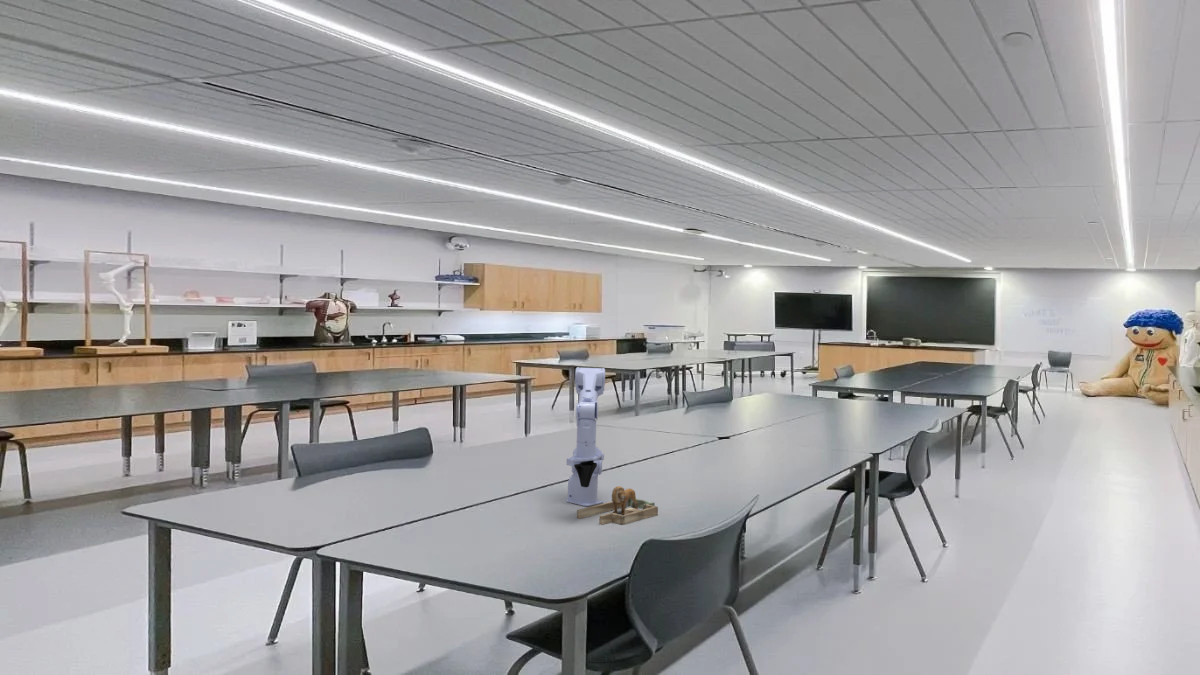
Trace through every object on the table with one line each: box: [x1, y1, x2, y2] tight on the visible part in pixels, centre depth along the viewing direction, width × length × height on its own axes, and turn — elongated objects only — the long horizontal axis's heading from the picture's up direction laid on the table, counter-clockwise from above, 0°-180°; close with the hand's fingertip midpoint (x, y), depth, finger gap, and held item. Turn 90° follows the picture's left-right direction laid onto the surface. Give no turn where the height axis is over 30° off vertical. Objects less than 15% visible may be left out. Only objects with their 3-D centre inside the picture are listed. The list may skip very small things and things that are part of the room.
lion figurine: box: [611, 485, 639, 515], centre depth 244 cm, size 15×5×9 cm, turn 157°
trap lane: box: [576, 498, 659, 526], centre depth 239 cm, size 14×25×3 cm, turn 138°
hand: (584, 486), depth 235 cm, fingers closed
